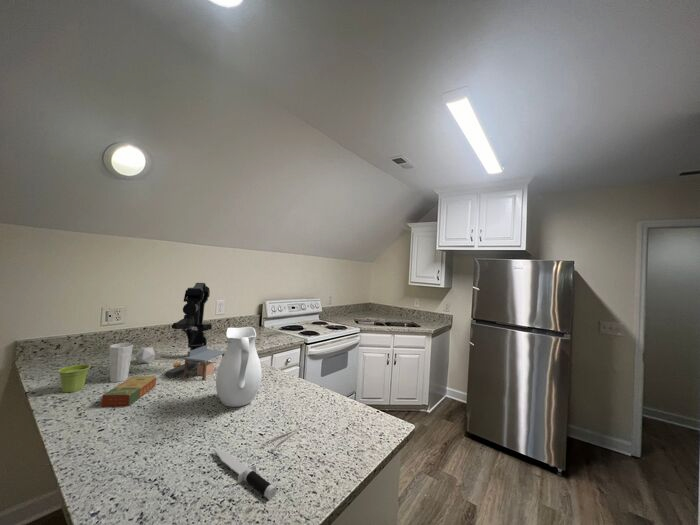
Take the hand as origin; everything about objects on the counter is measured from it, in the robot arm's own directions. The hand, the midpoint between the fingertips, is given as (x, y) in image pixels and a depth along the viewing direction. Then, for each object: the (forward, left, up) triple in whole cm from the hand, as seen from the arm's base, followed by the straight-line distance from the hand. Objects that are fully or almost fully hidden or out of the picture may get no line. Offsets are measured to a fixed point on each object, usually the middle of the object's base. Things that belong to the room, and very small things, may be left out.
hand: (190, 343), depth 141 cm
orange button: (-2, -6, -10) cm, 12 cm away
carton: (0, -31, -14) cm, 34 cm away
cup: (-19, -20, -14) cm, 31 cm away
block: (+10, -2, -14) cm, 17 cm away
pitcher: (+44, -26, -14) cm, 53 cm away
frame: (+10, -2, -13) cm, 17 cm away
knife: (+65, -58, -14) cm, 88 cm away
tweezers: (+70, -40, -14) cm, 82 cm away
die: (-29, +2, -14) cm, 32 cm away
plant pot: (-26, -33, -14) cm, 44 cm away
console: (-2, -2, -13) cm, 14 cm away
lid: (+10, -2, -5) cm, 12 cm away
